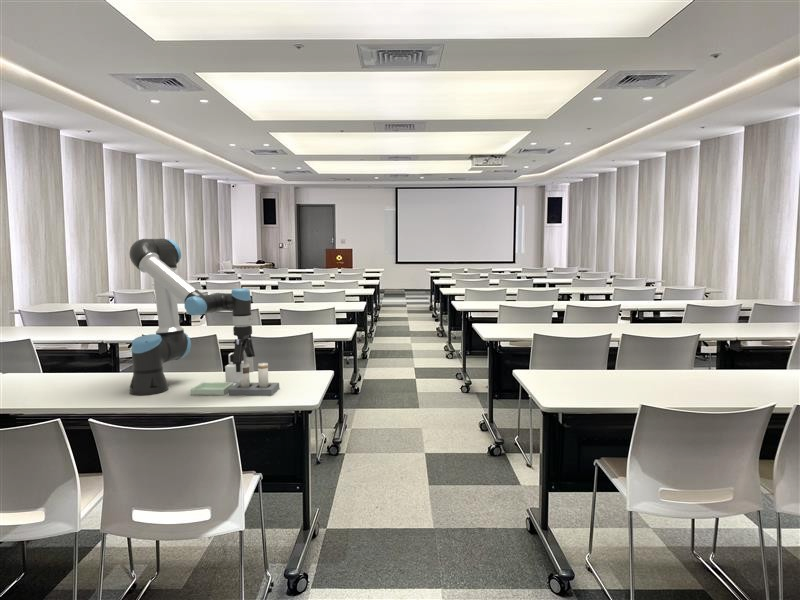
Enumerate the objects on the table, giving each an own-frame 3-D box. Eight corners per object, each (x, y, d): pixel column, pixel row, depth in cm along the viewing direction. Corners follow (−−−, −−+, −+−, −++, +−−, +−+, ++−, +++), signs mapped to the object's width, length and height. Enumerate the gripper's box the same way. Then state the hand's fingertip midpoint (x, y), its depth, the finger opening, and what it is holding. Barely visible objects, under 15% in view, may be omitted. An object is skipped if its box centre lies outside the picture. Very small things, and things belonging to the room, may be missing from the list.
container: (248, 379, 268) (247, 351, 266) (242, 383, 260) (241, 354, 259) (232, 378, 268) (231, 351, 267) (225, 382, 261) (224, 354, 259)
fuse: (257, 393, 242) (256, 364, 241) (260, 390, 246) (259, 362, 245) (267, 393, 242) (266, 364, 241) (270, 390, 246) (269, 362, 245)
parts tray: (190, 395, 240) (190, 389, 240) (202, 388, 252) (201, 382, 252) (223, 395, 239) (223, 389, 239) (233, 388, 251) (233, 382, 251)
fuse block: (228, 395, 239) (228, 389, 239) (238, 388, 251) (238, 382, 251) (271, 395, 238) (271, 389, 238) (279, 388, 250) (279, 382, 250)
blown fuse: (238, 393, 243) (237, 364, 241) (241, 390, 247) (240, 362, 246) (248, 393, 242) (247, 364, 241) (251, 390, 247) (250, 362, 245)
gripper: (241, 329, 229) (244, 382, 231) (260, 321, 254) (262, 369, 256) (222, 330, 230) (225, 382, 232) (243, 321, 254) (245, 369, 256)
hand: (244, 375), depth 244 cm, fingers open, 13 cm apart
